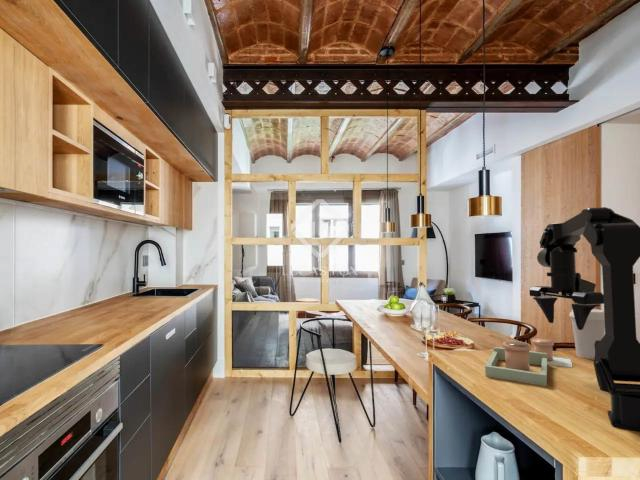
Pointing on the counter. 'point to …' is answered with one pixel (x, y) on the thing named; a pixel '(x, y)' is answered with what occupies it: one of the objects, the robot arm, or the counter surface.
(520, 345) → the pot
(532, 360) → the green shallow rectangular frame
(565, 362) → the white square board
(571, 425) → the counter surface
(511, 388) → the counter surface
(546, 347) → the pot
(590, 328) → the coffee cup
